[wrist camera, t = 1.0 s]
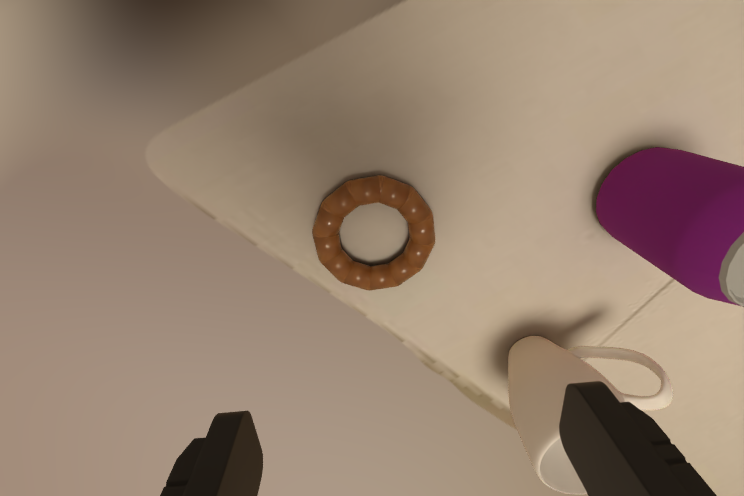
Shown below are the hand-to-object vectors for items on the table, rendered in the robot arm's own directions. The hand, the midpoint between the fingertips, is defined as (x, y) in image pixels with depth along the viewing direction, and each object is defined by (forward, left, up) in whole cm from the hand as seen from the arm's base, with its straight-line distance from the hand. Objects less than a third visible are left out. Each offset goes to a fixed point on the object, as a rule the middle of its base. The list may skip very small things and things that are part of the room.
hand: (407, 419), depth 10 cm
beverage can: (+14, +16, -22) cm, 31 cm away
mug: (+23, +3, -22) cm, 33 cm away
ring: (+3, -3, -21) cm, 22 cm away
